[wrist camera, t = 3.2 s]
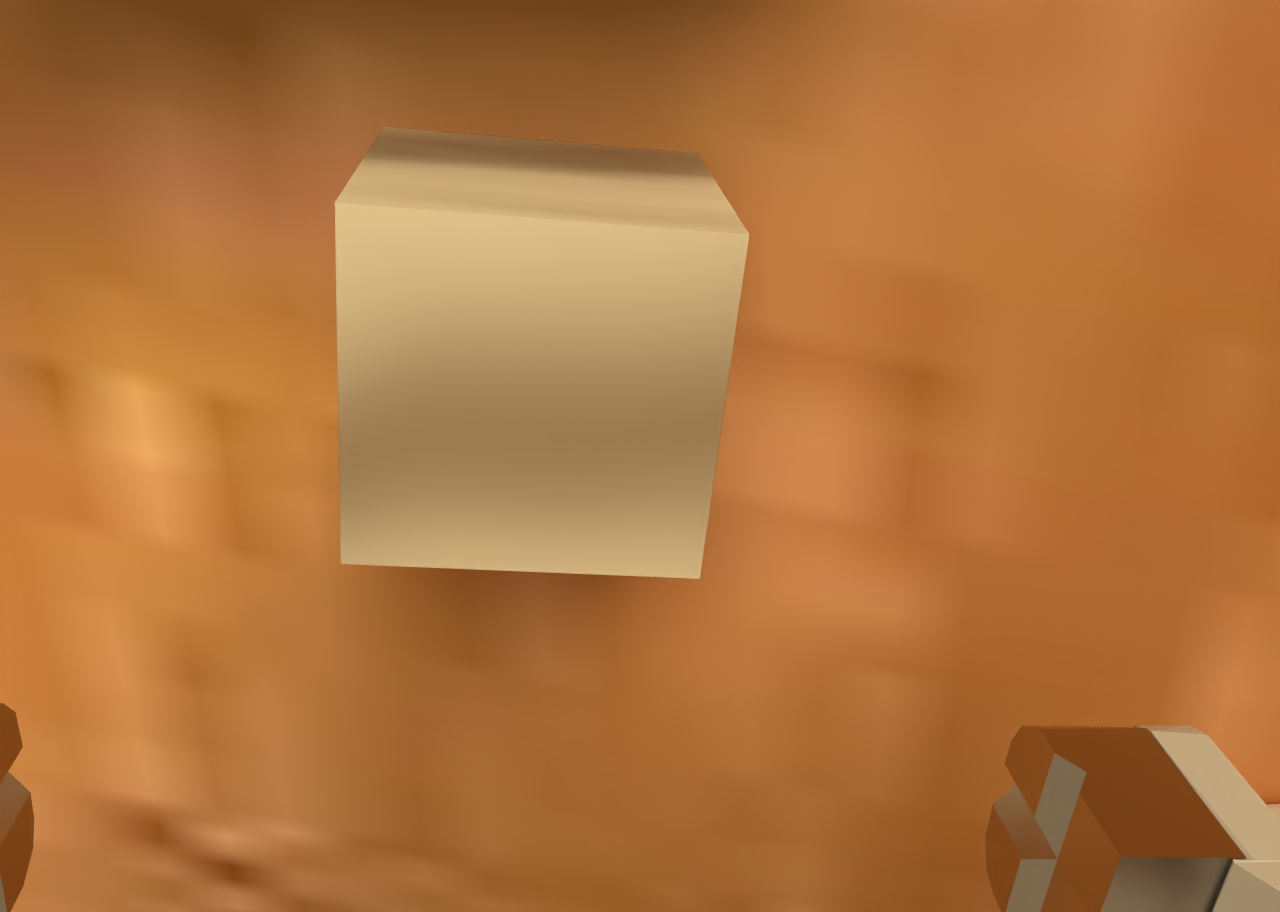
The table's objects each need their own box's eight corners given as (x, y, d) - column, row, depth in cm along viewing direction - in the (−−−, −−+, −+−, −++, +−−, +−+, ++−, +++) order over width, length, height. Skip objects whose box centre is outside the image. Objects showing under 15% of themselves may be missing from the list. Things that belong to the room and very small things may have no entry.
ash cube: (384, 125, 18) (334, 202, 14) (697, 152, 19) (749, 234, 14) (383, 415, 20) (340, 563, 16) (663, 430, 21) (700, 578, 16)
